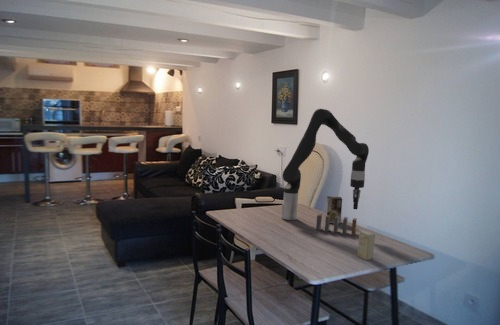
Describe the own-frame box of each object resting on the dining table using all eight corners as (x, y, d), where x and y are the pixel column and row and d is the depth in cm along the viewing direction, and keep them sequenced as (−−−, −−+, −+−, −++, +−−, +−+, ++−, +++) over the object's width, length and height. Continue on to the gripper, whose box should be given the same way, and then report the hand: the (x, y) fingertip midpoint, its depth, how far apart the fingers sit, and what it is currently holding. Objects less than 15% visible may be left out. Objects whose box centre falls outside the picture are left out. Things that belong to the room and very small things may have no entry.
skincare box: (356, 255, 184) (358, 231, 183) (364, 254, 186) (366, 230, 185) (366, 260, 179) (368, 234, 177) (373, 259, 181) (375, 233, 179)
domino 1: (316, 230, 225) (317, 215, 224) (317, 228, 230) (318, 213, 229) (319, 231, 224) (320, 215, 223) (320, 229, 229) (321, 214, 228)
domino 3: (333, 233, 222) (334, 217, 221) (334, 230, 226) (335, 215, 225) (336, 233, 221) (337, 218, 220) (337, 231, 226) (338, 216, 225)
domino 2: (324, 231, 223) (325, 216, 222) (326, 229, 228) (327, 214, 227) (327, 232, 223) (328, 217, 222) (329, 230, 227) (330, 215, 226)
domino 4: (342, 234, 220) (343, 218, 219) (343, 232, 224) (344, 217, 224) (345, 234, 219) (346, 219, 218) (346, 232, 224) (347, 217, 223)
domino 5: (351, 235, 218) (352, 220, 217) (352, 233, 223) (353, 218, 222) (354, 236, 217) (355, 220, 217) (355, 233, 222) (356, 218, 221)
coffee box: (339, 221, 249) (341, 196, 248) (340, 223, 243) (342, 198, 241) (325, 220, 250) (326, 195, 249) (326, 222, 244) (327, 197, 242)
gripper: (352, 176, 224) (349, 205, 226) (349, 179, 212) (347, 210, 214) (365, 177, 222) (363, 207, 224) (363, 180, 209) (361, 212, 211)
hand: (355, 208), depth 219 cm, fingers closed
